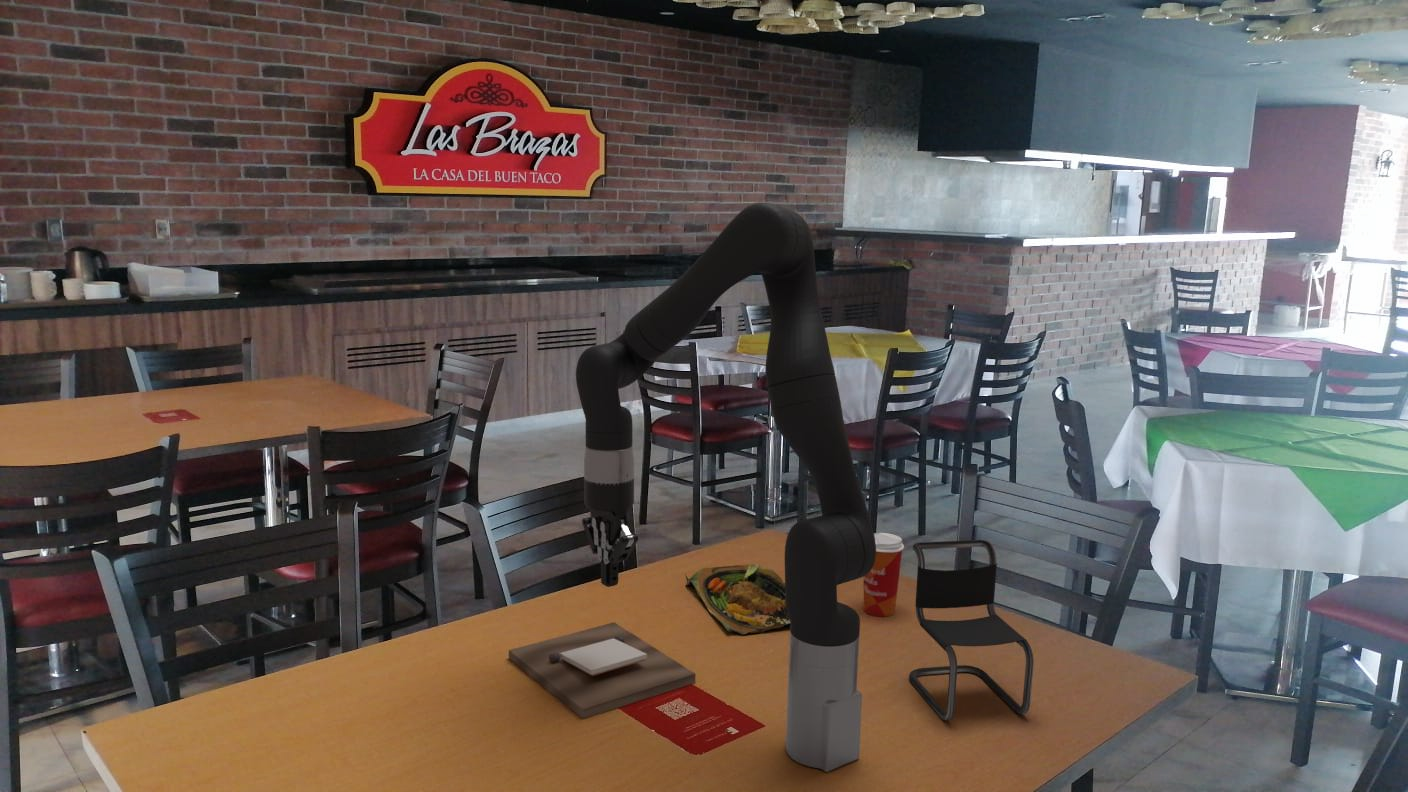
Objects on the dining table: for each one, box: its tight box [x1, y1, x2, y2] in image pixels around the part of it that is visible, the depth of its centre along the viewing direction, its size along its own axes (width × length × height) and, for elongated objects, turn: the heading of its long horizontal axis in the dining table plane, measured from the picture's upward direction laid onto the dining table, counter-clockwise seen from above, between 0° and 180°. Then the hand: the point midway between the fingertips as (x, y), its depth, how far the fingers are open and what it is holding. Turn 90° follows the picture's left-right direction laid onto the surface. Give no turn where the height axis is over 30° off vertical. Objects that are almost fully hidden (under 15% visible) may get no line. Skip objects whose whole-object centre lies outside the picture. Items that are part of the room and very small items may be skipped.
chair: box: [908, 539, 1035, 722], centre depth 152 cm, size 13×17×22 cm
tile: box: [560, 638, 647, 676], centre depth 159 cm, size 10×10×1 cm
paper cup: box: [862, 532, 905, 618], centre depth 186 cm, size 8×8×14 cm
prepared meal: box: [684, 563, 790, 636], centre depth 190 cm, size 28×4×18 cm
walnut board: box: [508, 621, 697, 720], centre depth 160 cm, size 24×20×3 cm
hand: (609, 584), depth 155 cm, fingers closed
